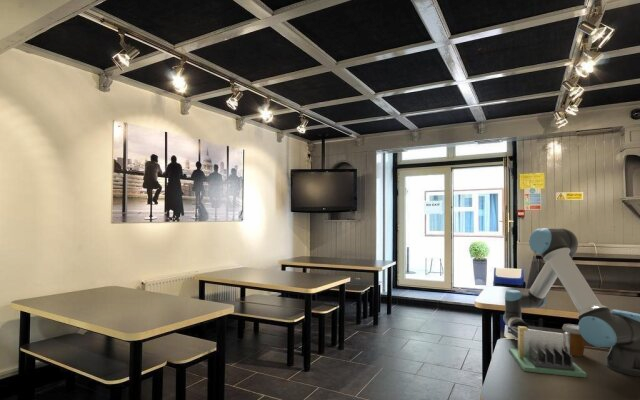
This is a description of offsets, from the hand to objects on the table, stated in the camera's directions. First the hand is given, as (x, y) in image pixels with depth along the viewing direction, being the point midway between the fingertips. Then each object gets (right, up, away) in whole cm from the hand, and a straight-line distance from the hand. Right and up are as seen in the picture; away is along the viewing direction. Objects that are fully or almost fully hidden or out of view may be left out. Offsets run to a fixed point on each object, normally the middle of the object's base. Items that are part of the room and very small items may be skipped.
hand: (533, 342), depth 162 cm
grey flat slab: (+2, -5, -3) cm, 7 cm away
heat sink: (+1, -5, -8) cm, 10 cm away
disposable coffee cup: (+23, -8, +8) cm, 26 cm away
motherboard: (+2, -7, -5) cm, 9 cm away
